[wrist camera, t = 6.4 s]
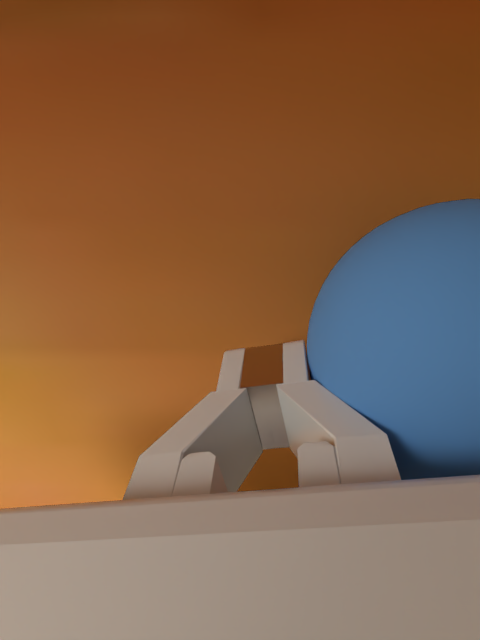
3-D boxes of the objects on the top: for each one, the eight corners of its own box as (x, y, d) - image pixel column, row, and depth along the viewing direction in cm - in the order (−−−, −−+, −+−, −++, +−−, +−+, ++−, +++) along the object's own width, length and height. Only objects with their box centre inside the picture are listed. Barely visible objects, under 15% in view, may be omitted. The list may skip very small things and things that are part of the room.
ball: (252, 218, 9) (353, 379, 4) (500, 137, 9) (915, 198, 4) (302, 400, 12) (394, 620, 7) (487, 340, 12) (713, 520, 7)
